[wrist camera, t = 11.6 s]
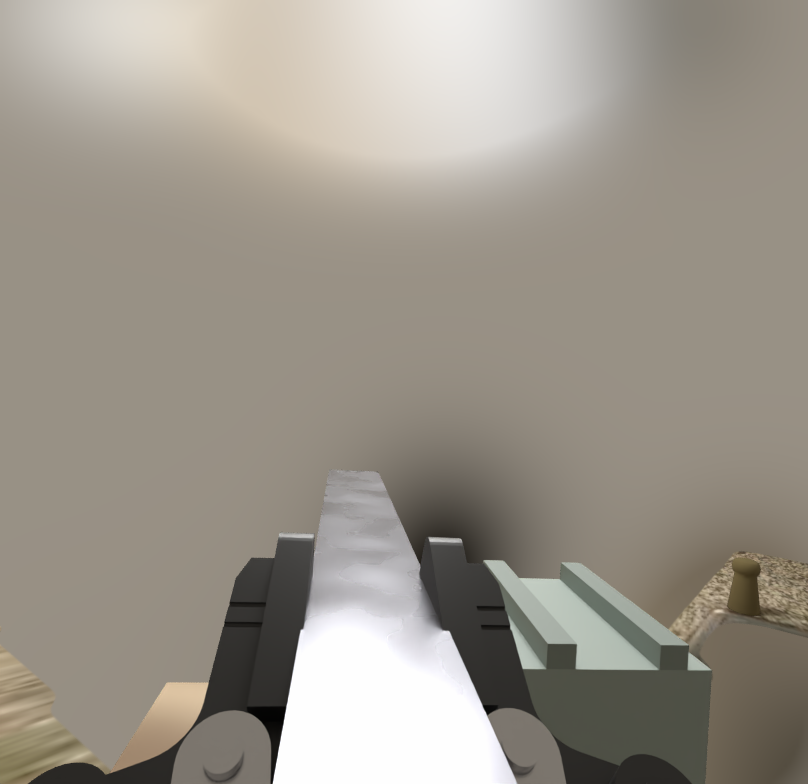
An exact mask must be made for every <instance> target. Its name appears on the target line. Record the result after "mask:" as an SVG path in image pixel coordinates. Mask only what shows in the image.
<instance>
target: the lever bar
mask: <svg viewBox="0 0 808 784" xmlns="http://www.w3.org/2000/svg"><path fill="white" fill-rule="evenodd" d="M419 572H420V565H419V562H418V560H417V558H416V556H415V553H414V551H413V549H412V547H411V544H410V542H409V540H408V538H407V535H406V533H405V531H404V529H403V526H402V524H401V522H400V520H399V517H398V515H397V513H396V511H395V508H394V506H393V504H392V502H391V500H390V497H389V495H388V493H387V491H386V489H385V486H384V484H383V482H382V480H381V477H380V475H379V473H378V472H370V471H369V472H368V471H348V470H329V475H328V481H327V486H326V492H325V497H324V503H323V508H322V514H321V520H320V525H319V531H318V536H317V542H316V548H315V553H314V563H313V575H312V581H311V587H310V593H309V599H308V605H307V611H306V617H305V623H304V629H303V630H301V631H300V636H299V642H298V648H297V653H296V659H295V664H294V670H293V675H292V681H291V687H290V692H289V698H288V703H287V709H286V714H285V720H284V725H283V731H282V737H281V742H280V748H279V753H278V759H277V764H276V770H275V776H274V781H273V784H517V782H516V780H515V777H514V775H513V773H512V771H511V768H510V766H509V764H508V762H507V760H506V757H505V755H504V753H503V751H502V748H501V746H500V744H499V742H498V739H497V737H496V735H495V733H494V730H493V728H492V726H491V724H490V721H489V719H488V717H487V715H486V712H485V710H484V708H483V706H482V703H481V701H480V699H479V697H478V695H477V692H476V690H475V688H474V686H473V683H472V681H471V679H470V677H469V674H468V672H467V670H466V668H465V665H464V663H463V661H462V659H461V656H460V654H459V652H458V650H457V647H456V645H455V643H454V641H453V638H452V636H451V634H450V632H449V631H443V629H442V626H441V624H440V622H439V619H438V617H437V615H436V612H435V610H434V607H433V605H432V603H431V600H430V598H429V596H428V593H427V591H426V588H425V586H424V584H423V581H422V579H421V577H420V574H419Z"/></svg>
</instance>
